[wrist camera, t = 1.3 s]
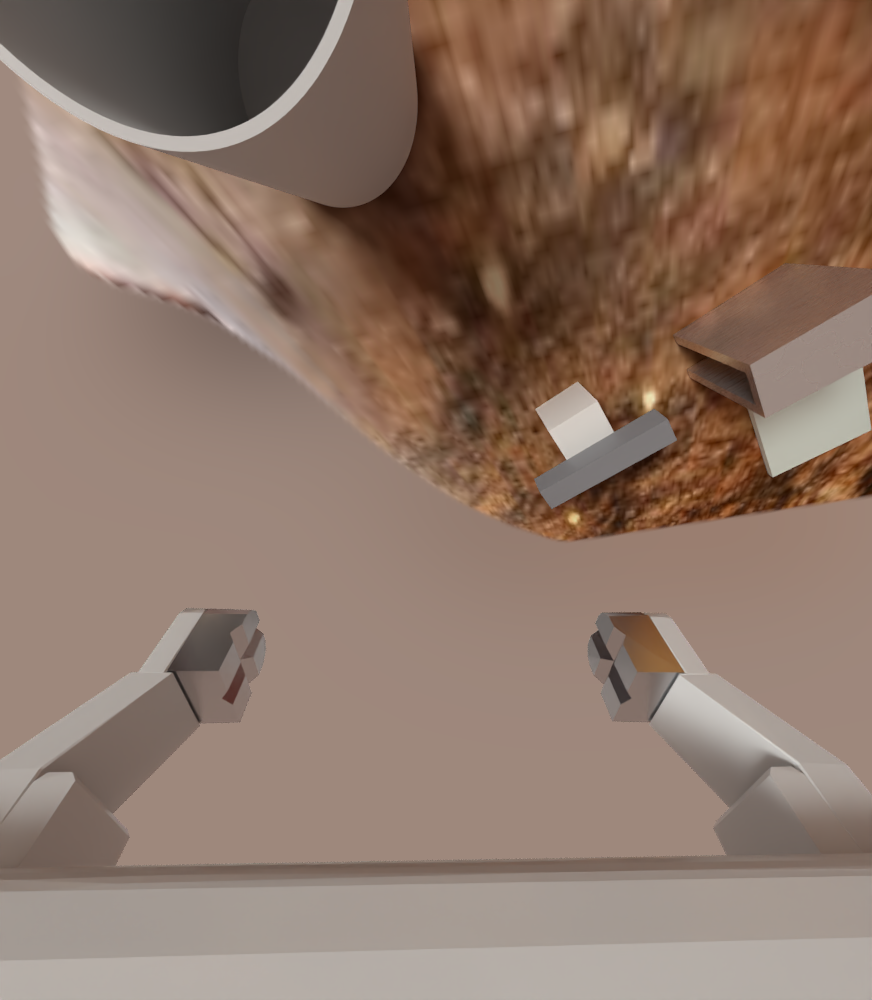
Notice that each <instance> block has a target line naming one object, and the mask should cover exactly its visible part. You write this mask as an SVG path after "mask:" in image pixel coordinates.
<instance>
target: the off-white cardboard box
mask: <svg viewBox="0 0 872 1000" xmlns="http://www.w3.org/2000/svg"><path fill="white" fill-rule="evenodd" d="M535 410H536V411H537V413H538V415H539V416H540V418H541V420H542V421H543V423H544V425H545V426H546V428H547V430H548V431H549V433H550V434H551V436H552V438H553V439H554V441H555V442H556V444H557V445H558V447H559V449H560V450H561V452H562V453H563V455H564V457H565V458H566V460H568V459H569V458H571V457H573V456H574V455H576V454H578V453H580V452H581V451H583V450H585V449H586V448H588V447H590V446H591V445H593V444H595V443H597V442H598V441H600V440H602V439H603V438H605V437H607V436H609V435H610V434H612V433H614V431H613V429H612V427H611V426H610V424H609V422H608V420H607V418H606V416H605V414H604V412H603V411H602V409H601V407H600V405H599V403H598V401H597V400H596V399H595V398H594V397H593V396H592V395H591V394H590V393H589V392H588V391H587V390H586V389H585V388H584V387H583V386H582V385H581V384H580V383H579V382H576V383H575V384H573V385H572V386H570V387H568V388H567V389H565V390H564V391H562V392H561V393H559V394H558V395H556V396H555V397H553V398H552V399H550V400H549V401H547V402H546V403H544V404H542V405H541V406H539V407H538V408H536V409H535Z"/></svg>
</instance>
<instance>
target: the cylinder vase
mask: <svg viewBox="0 0 872 1000" xmlns="http://www.w3.org/2000/svg"><path fill="white" fill-rule="evenodd" d="M0 60H1V61H2V62H3V63H4V64H5V65H7V66H8V67H9V68H10V69H11V70H12V71H14V72H15V73H16V74H17V75H18V76H19V77H21V78H22V79H23V80H24V81H26V82H27V83H28V84H29V85H31V86H32V87H33V88H34V89H36V90H37V91H38V92H40V93H41V94H42V95H44V96H45V97H47V98H48V99H49V100H51V101H52V102H54V103H55V104H57V105H58V106H60V107H61V108H63V109H64V110H66V111H67V112H69V113H71V114H72V115H74V116H76V117H77V118H79V119H81V120H83V121H84V122H86V123H88V124H90V125H92V126H94V127H96V128H98V129H100V130H102V131H104V132H106V133H109V134H111V135H113V136H116V137H119V138H121V139H124V140H127V141H130V142H133V143H136V144H139V145H142V146H145V147H148V148H151V149H154V150H157V151H160V152H163V153H166V154H170V155H173V156H176V157H179V158H182V159H185V160H188V161H191V162H194V163H197V164H200V165H203V166H206V167H209V168H213V169H216V170H219V171H222V172H225V173H228V174H231V175H234V176H237V177H240V178H243V179H246V180H249V181H252V182H256V183H259V184H262V185H265V186H268V187H271V188H274V189H277V190H280V191H283V192H286V193H289V194H292V195H295V196H299V197H302V198H305V199H308V200H311V201H314V202H317V203H320V204H323V205H327V206H331V207H339V208H347V207H355V206H359V205H362V204H365V203H368V202H370V201H372V200H373V199H375V198H377V197H378V196H380V195H381V194H382V193H383V192H385V191H386V190H387V189H388V188H389V187H390V186H391V184H392V183H393V182H394V181H395V180H396V178H397V177H398V175H399V174H400V172H401V170H402V169H403V167H404V165H405V163H406V161H407V158H408V156H409V153H410V150H411V147H412V144H413V140H414V136H415V130H416V124H417V113H418V94H417V82H416V73H415V64H414V55H413V45H412V36H411V27H410V18H409V9H408V0H0Z"/></svg>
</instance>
